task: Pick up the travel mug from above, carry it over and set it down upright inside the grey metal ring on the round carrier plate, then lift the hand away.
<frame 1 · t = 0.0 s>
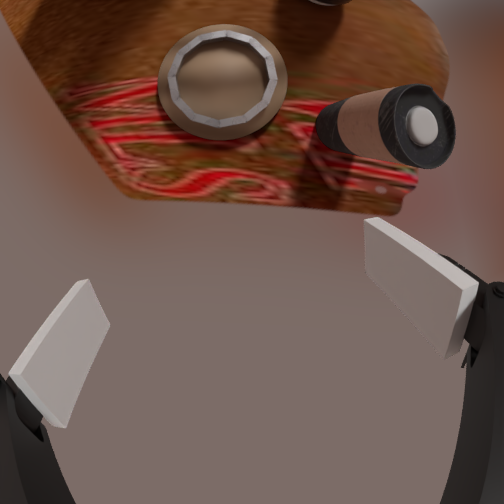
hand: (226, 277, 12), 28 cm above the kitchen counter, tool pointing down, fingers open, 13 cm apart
carrier plate: (222, 80, 33), on the kitchen counter
travel mug: (338, 127, 37), on the kitchen counter
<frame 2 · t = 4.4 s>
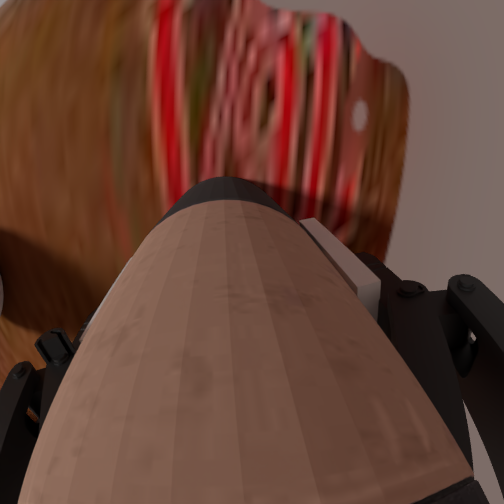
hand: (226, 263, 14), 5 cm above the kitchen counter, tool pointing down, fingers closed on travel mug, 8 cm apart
travel mug: (224, 229, 19), on the kitchen counter, touching gripper
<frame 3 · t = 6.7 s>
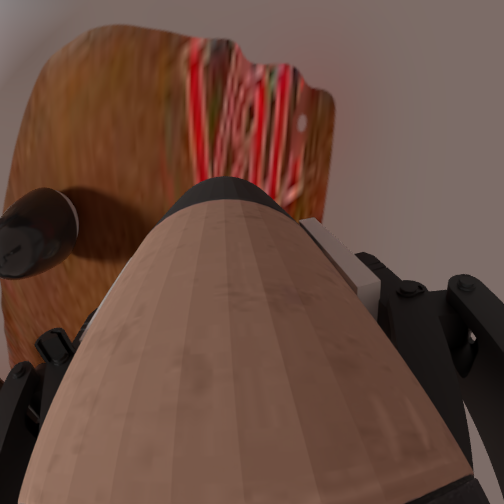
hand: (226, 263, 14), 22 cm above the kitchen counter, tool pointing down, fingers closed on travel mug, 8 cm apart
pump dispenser: (59, 217, 33), on the kitchen counter
travel mug: (224, 229, 19), point 16 cm above the kitchen counter, touching gripper
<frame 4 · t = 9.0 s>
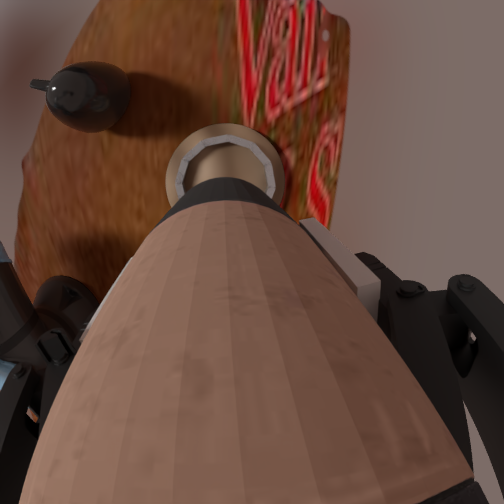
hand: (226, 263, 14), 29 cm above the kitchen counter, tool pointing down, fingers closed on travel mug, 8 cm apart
carrier plate: (225, 181, 41), on the kitchen counter
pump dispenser: (107, 100, 34), on the kitchen counter
travel mug: (224, 229, 19), point 24 cm above the kitchen counter, touching gripper
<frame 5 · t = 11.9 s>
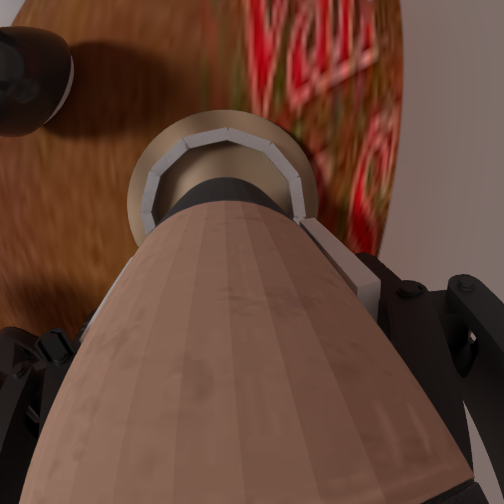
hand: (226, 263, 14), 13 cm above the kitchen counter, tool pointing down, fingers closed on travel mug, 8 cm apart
carrier plate: (222, 205, 26), on the kitchen counter
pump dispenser: (47, 87, 19), on the kitchen counter
travel mug: (224, 229, 19), point 7 cm above the kitchen counter, touching gripper
when the fingers open (9 cm above the kitchen counter, at t = 13.7 s): travel mug drops 2 cm, resting on carrier plate.
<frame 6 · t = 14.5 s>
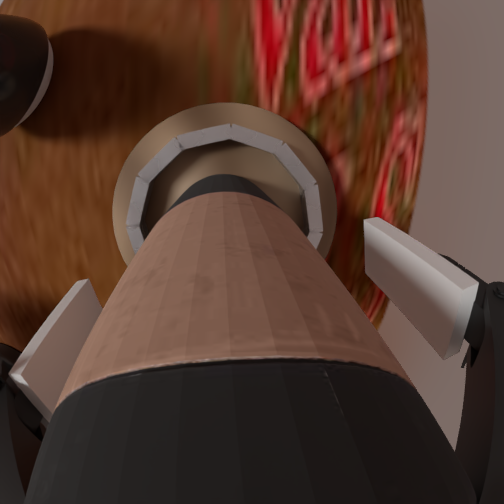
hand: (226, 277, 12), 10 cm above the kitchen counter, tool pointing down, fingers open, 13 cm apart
carrier plate: (224, 216, 22), on the kitchen counter
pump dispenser: (26, 82, 15), on the kitchen counter
travel mug: (223, 221, 21), point 1 cm above the kitchen counter, touching carrier plate
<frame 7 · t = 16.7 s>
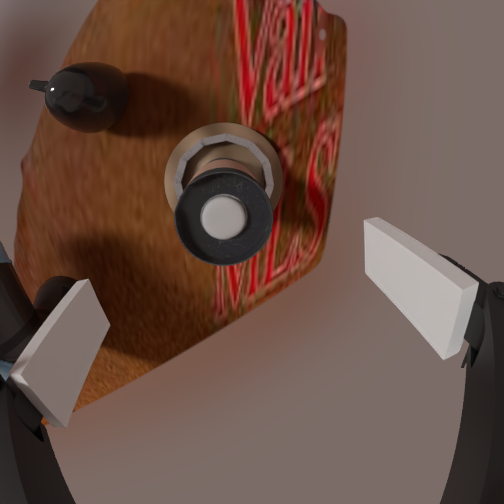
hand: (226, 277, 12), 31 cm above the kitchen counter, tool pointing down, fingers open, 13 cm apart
carrier plate: (223, 180, 41), on the kitchen counter
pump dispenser: (106, 101, 34), on the kitchen counter
travel mug: (223, 182, 39), point 1 cm above the kitchen counter, touching carrier plate
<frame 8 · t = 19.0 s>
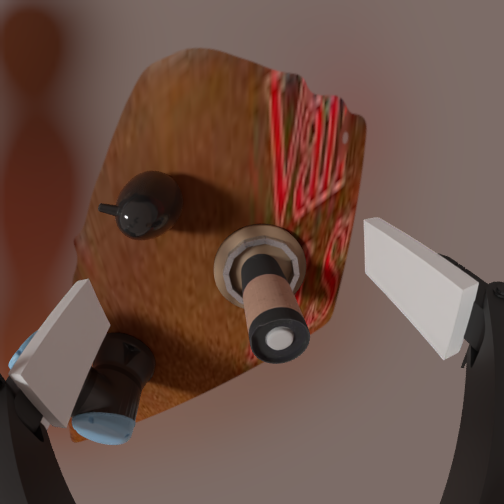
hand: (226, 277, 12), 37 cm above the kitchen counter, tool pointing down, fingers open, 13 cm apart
carrier plate: (259, 267, 53), on the kitchen counter
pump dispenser: (156, 197, 46), on the kitchen counter
travel mug: (260, 271, 52), point 1 cm above the kitchen counter, touching carrier plate
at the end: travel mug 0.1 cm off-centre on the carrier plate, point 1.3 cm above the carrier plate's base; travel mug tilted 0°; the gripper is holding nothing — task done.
